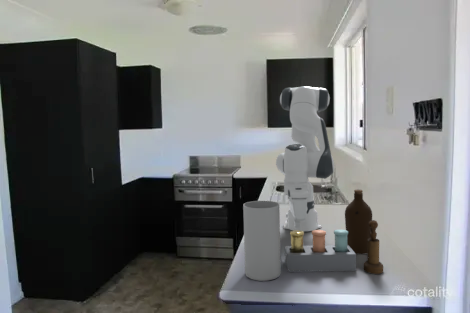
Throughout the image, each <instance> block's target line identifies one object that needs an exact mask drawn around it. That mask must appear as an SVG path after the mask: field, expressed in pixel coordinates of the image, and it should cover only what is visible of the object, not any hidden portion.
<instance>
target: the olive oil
mask: <svg viewBox="0 0 470 313" xmlns="http://www.w3.org/2000/svg"><path fill="white" fill-rule="evenodd" d="M353 191H354V193H353V199H352V200H351V202H350V203H349V204H348V205H347V206H346V208H345V211H344V220H345V223H344V225H345V230H346V231H348V235H347V245H349V246H350V248H351V249H352V250H353V251H354V252H355V254H356V255H365V254H366V255H367V253H368V244H367V239H369V238H371V236H370V233H371V229H370V227H369V222H370V221H371V220H373V211H372V209H371V207H370V206H369V205H368V203H367V202H366V201H365V200H364V198H363V196H364V193H363V190H362V189H354V190H353Z"/></svg>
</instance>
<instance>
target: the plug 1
mask: <svg viewBox="0 0 470 313" xmlns="http://www.w3.org/2000/svg"><path fill="white" fill-rule="evenodd" d="M289 235H290V246H291V253H303V246H304V235H305V231H299V230H290V231H289Z"/></svg>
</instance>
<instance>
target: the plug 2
mask: <svg viewBox="0 0 470 313" xmlns="http://www.w3.org/2000/svg"><path fill="white" fill-rule="evenodd" d="M311 235H312V246H313V253H321V252H325V245H326V235H327V231H326V230H323V229H322V230H321V229H316V230H313V231H311Z"/></svg>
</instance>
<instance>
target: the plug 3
mask: <svg viewBox="0 0 470 313" xmlns="http://www.w3.org/2000/svg"><path fill="white" fill-rule="evenodd" d="M333 234H334V245H335V252H347V235H348V231H346V229H335V230H333Z"/></svg>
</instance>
